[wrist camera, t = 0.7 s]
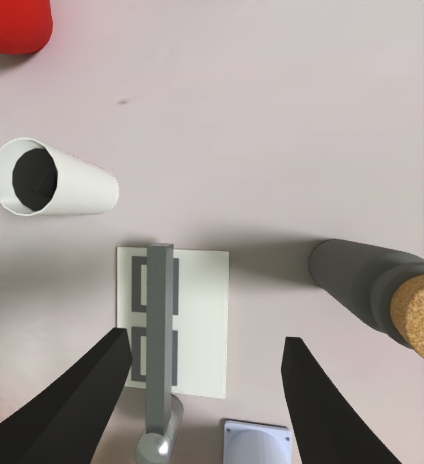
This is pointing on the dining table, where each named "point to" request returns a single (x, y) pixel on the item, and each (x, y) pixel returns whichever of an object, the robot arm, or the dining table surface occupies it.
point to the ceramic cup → (24, 25)
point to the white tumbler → (52, 181)
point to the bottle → (375, 287)
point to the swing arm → (159, 360)
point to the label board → (180, 318)
